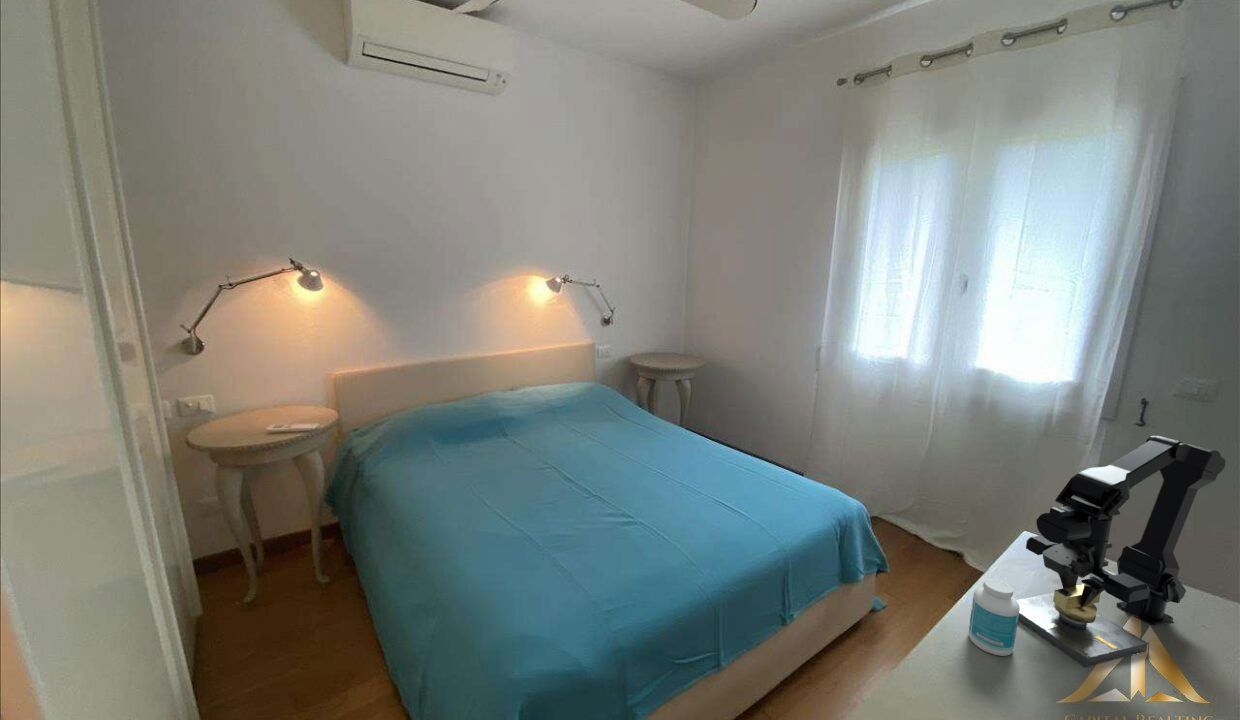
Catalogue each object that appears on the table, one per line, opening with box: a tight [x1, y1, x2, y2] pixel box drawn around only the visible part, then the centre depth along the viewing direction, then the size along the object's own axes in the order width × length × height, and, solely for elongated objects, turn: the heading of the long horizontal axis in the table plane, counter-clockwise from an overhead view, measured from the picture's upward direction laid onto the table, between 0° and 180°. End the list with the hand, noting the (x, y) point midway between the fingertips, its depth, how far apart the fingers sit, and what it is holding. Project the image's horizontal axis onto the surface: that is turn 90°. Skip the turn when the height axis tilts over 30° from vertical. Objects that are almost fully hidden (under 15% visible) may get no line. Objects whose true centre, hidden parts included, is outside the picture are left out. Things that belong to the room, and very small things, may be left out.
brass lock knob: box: [1053, 583, 1102, 623], centre depth 100 cm, size 9×6×5 cm
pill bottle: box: [968, 577, 1020, 657], centre depth 97 cm, size 8×7×14 cm
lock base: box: [1016, 591, 1149, 668], centre depth 101 cm, size 16×16×4 cm
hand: (1075, 601), depth 100 cm, fingers closed on brass lock knob, 2 cm apart
